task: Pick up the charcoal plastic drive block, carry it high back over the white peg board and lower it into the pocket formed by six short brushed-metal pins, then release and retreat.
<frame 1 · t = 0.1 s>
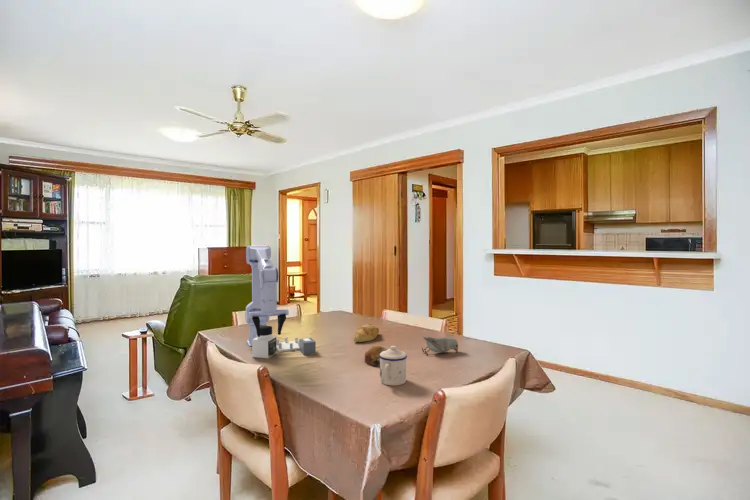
hand: (269, 335, 150), 10 cm above the table, fingers open, 7 cm apart
drive block: (307, 352, 163), on the table
white peg board: (288, 346, 170), on the table
bread roll: (377, 362, 150), on the table
croissant: (365, 339, 185), on the table
teacup with lid: (391, 383, 129), on the table
medicine bottle: (264, 355, 158), on the table
decorative bird: (440, 353, 162), on the table
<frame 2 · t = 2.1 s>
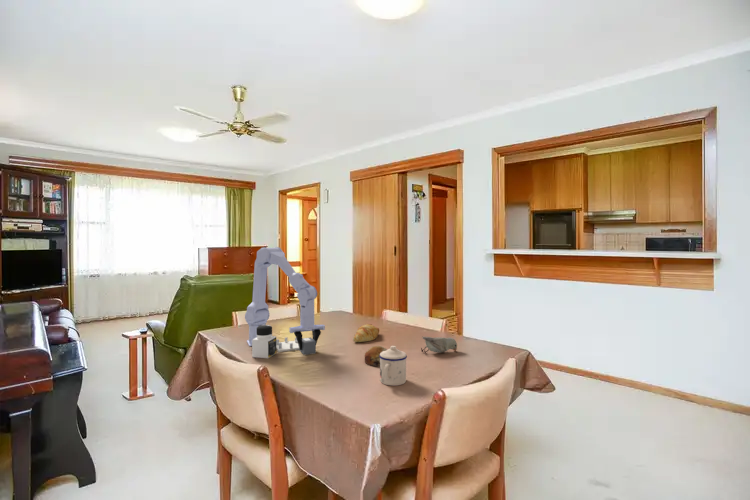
hand: (307, 348, 163), 1 cm above the table, fingers closed on drive block, 5 cm apart
drive block: (307, 352, 163), on the table, touching gripper
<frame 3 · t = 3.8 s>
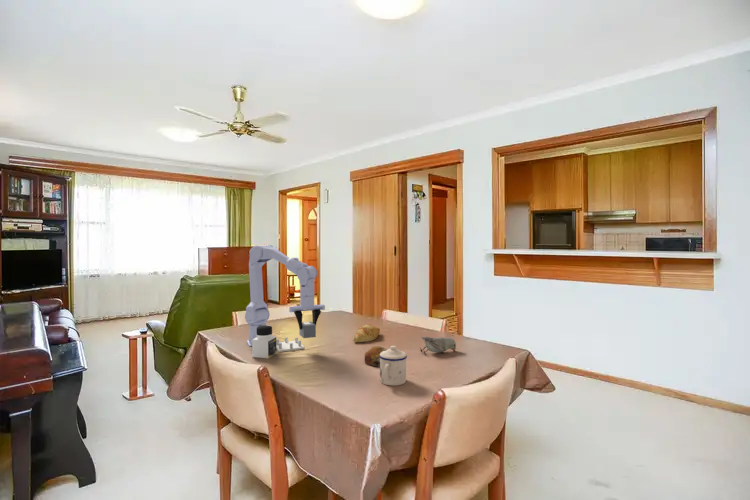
hand: (307, 328, 163), 10 cm above the table, fingers closed on drive block, 5 cm apart
drive block: (307, 335, 163), point 7 cm above the table, touching gripper
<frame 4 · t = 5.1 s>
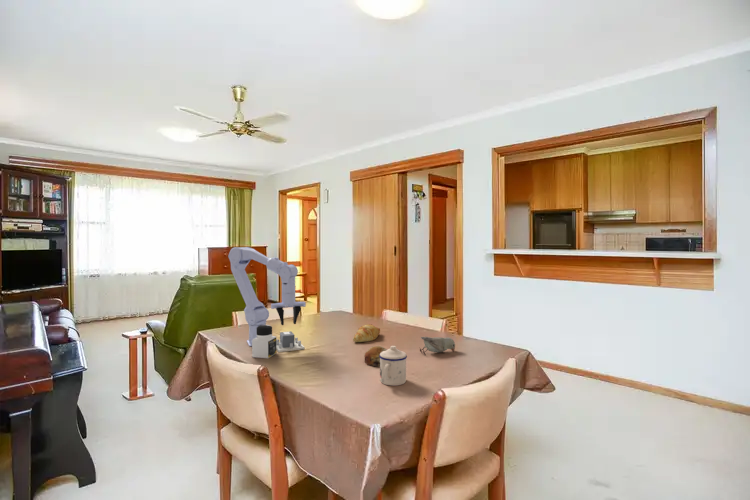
hand: (288, 324, 170), 10 cm above the table, fingers open, 5 cm apart
drive block: (287, 345, 170), point 1 cm above the table, touching white peg board
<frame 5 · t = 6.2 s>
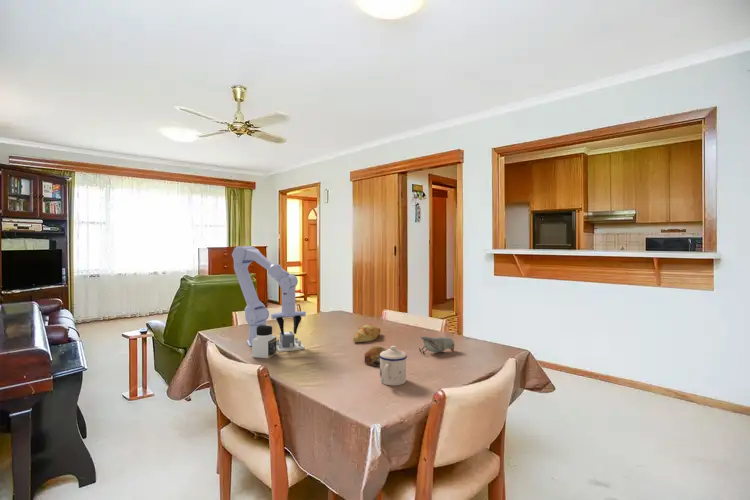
hand: (288, 334, 170), 6 cm above the table, fingers open, 5 cm apart
drive block: (287, 345, 170), point 1 cm above the table, touching gripper, white peg board
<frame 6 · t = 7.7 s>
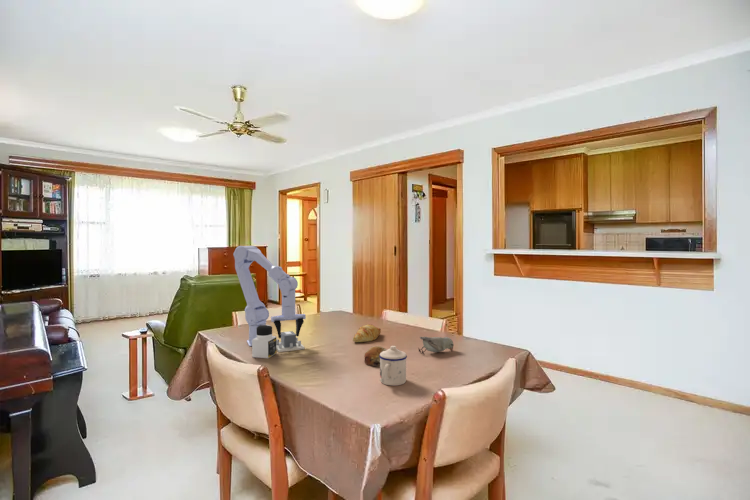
hand: (288, 336, 170), 4 cm above the table, fingers open, 7 cm apart
drive block: (288, 344, 170), point 1 cm above the table, touching white peg board
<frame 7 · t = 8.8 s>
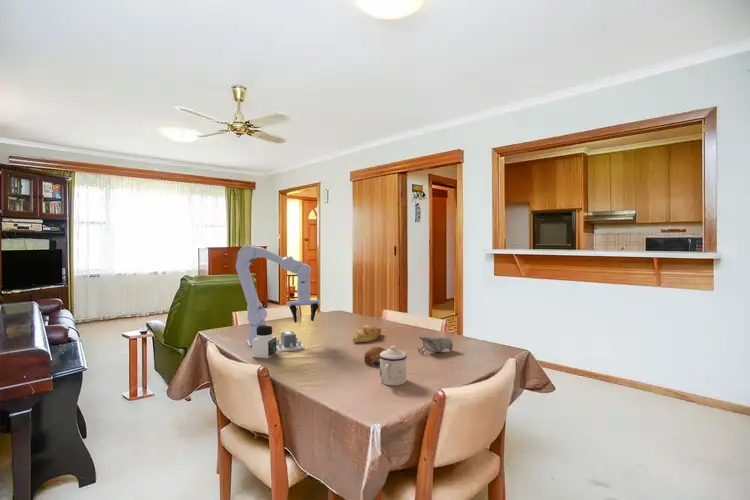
hand: (303, 321, 176), 10 cm above the table, fingers open, 7 cm apart
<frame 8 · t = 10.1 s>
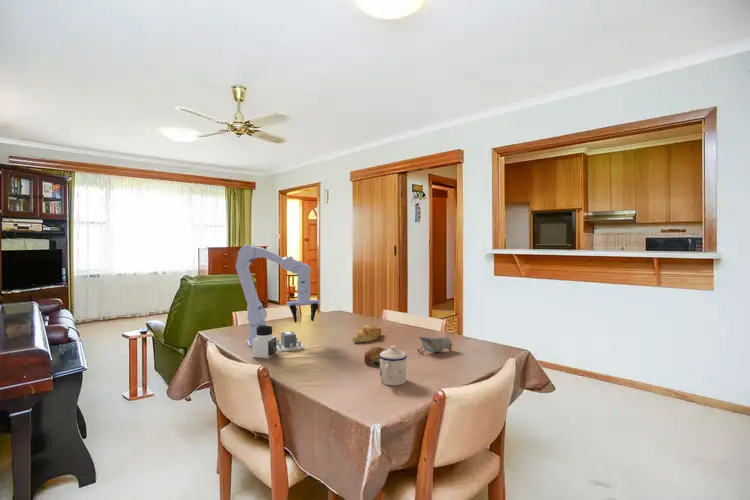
hand: (303, 321, 176), 10 cm above the table, fingers open, 7 cm apart
at the end: drive block 0.3 cm off-centre on the white peg board, point 0.8 cm above the white peg board's base; drive block tilted 0°; the gripper is holding nothing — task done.
